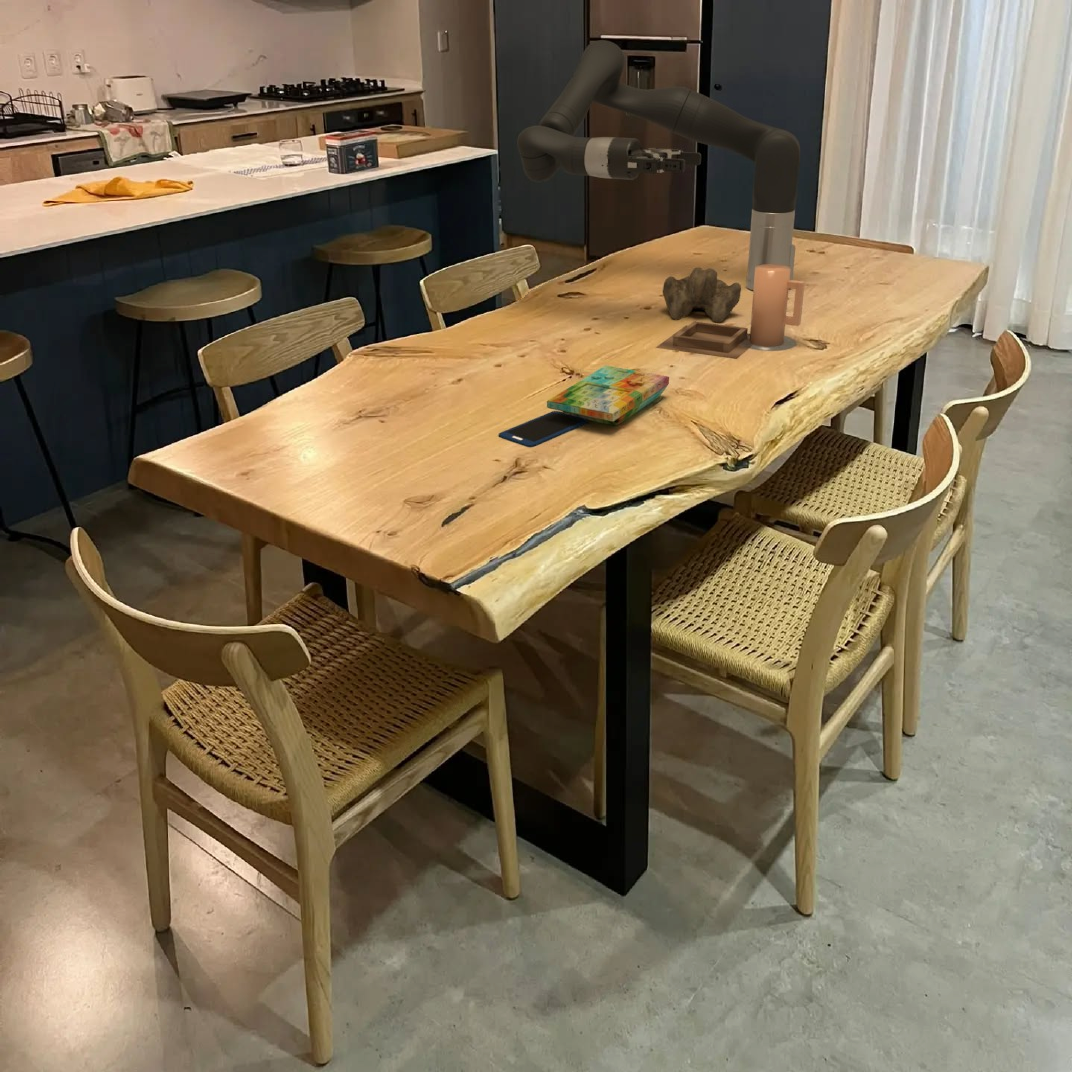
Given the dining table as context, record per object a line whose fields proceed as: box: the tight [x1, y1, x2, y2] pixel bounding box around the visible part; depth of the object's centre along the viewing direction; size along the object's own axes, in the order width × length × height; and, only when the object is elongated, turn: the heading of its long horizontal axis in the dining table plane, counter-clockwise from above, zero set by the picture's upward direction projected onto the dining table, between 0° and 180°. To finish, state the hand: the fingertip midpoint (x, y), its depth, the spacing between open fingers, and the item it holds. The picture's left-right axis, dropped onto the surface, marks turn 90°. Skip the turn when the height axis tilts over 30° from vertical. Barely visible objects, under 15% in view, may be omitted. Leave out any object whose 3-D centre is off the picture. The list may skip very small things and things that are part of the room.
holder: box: [655, 320, 753, 360], centre depth 206 cm, size 16×16×2 cm
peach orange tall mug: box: [749, 264, 806, 347], centre depth 201 cm, size 9×6×14 cm
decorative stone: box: [662, 266, 742, 324], centre depth 222 cm, size 16×11×15 cm
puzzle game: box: [546, 365, 670, 426], centre depth 176 cm, size 12×5×20 cm
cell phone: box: [497, 410, 589, 448], centre depth 169 cm, size 7×14×1 cm, turn 137°
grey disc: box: [740, 335, 798, 352], centre depth 205 cm, size 11×11×1 cm
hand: (692, 162), depth 200 cm, fingers open, 8 cm apart
